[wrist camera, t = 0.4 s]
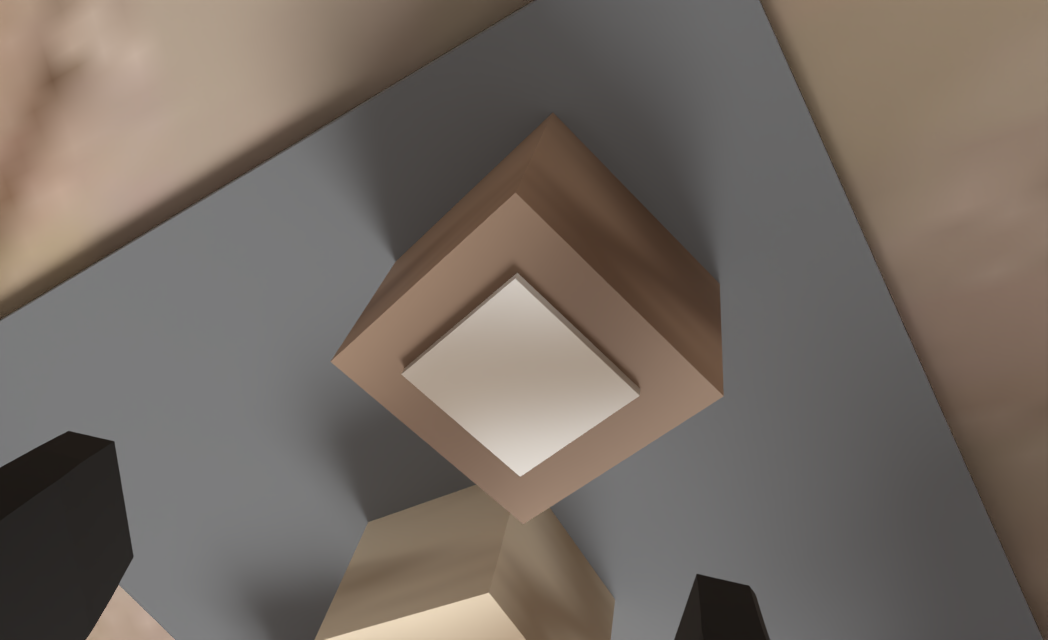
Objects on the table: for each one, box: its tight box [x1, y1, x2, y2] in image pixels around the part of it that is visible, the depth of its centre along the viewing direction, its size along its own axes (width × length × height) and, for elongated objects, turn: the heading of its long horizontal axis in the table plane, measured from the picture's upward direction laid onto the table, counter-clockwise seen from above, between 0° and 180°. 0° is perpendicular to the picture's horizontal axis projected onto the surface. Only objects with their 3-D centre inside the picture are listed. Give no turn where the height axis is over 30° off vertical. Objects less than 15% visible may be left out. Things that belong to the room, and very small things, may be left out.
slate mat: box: [0, 0, 1043, 640], centre depth 23 cm, size 20×24×1 cm
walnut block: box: [330, 113, 724, 524], centre depth 17 cm, size 5×5×4 cm
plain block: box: [315, 485, 615, 640], centre depth 22 cm, size 5×5×4 cm
